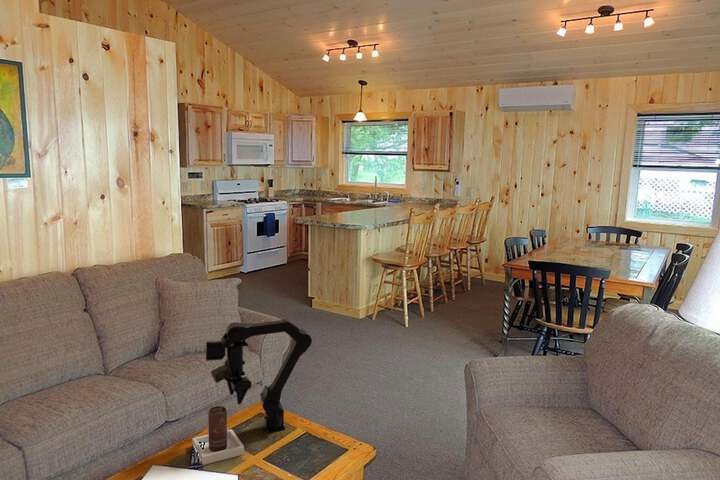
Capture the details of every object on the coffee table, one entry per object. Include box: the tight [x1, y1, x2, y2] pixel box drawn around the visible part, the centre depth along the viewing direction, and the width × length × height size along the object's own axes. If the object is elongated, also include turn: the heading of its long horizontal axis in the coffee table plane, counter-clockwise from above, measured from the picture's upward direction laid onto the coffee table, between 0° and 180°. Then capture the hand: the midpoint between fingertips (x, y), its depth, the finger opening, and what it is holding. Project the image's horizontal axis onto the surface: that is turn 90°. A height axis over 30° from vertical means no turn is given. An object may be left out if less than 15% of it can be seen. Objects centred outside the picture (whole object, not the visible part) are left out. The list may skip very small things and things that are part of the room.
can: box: [207, 405, 228, 452], centre depth 180 cm, size 6×6×14 cm
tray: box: [191, 429, 245, 466], centre depth 181 cm, size 14×14×3 cm
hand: (235, 399), depth 192 cm, fingers open, 9 cm apart
